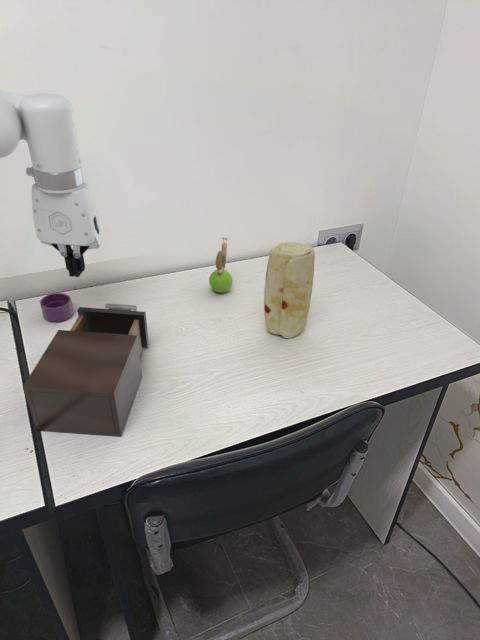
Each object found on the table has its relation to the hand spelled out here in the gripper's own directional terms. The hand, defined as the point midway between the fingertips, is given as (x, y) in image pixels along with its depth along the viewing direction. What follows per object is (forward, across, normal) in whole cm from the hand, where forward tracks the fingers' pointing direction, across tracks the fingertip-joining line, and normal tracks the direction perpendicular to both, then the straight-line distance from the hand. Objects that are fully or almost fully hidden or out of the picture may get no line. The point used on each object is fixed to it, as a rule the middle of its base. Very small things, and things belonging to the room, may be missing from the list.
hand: (76, 273), depth 94 cm
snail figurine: (+13, +26, +19) cm, 34 cm away
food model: (+13, +41, +4) cm, 43 cm away
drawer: (+12, +8, -9) cm, 17 cm away
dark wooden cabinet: (+13, +8, -21) cm, 26 cm away
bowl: (+13, -7, +4) cm, 15 cm away
